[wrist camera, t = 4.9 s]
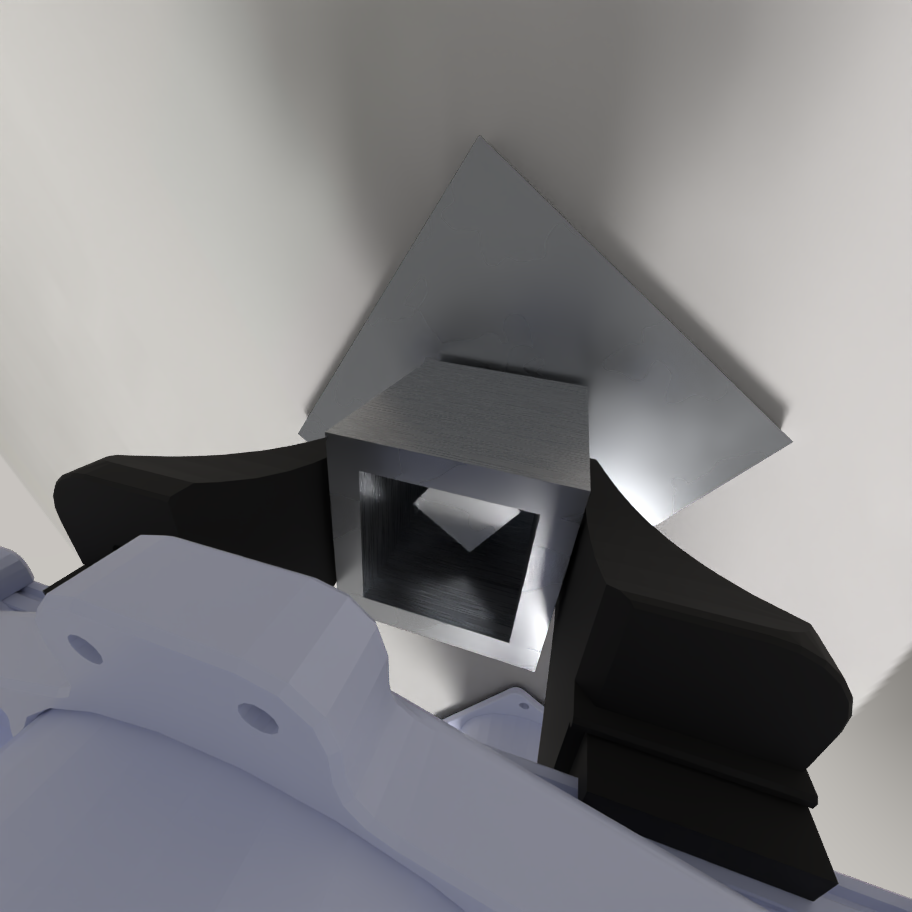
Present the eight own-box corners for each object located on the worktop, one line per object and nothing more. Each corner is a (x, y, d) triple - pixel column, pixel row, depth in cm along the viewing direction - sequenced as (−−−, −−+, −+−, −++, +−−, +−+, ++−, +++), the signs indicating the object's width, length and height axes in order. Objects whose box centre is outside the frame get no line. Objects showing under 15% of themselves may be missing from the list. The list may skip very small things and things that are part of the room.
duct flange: (781, 431, 12) (900, 540, 7) (513, 599, 18) (488, 715, 14) (486, 142, 11) (413, 61, 6) (309, 426, 17) (208, 488, 12)
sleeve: (587, 386, 12) (590, 491, 7) (552, 519, 14) (534, 672, 9) (429, 359, 13) (325, 431, 8) (421, 487, 15) (339, 608, 10)
